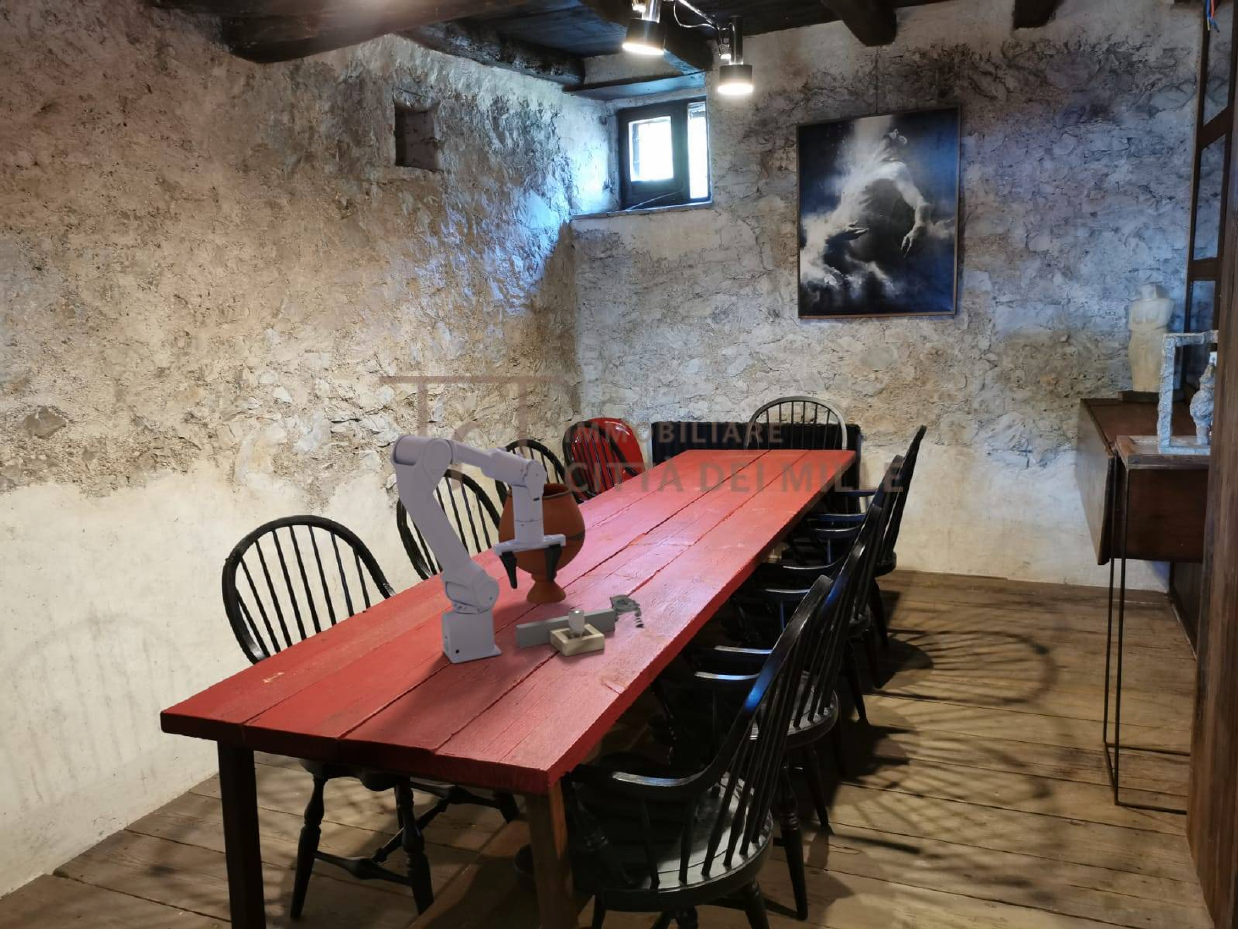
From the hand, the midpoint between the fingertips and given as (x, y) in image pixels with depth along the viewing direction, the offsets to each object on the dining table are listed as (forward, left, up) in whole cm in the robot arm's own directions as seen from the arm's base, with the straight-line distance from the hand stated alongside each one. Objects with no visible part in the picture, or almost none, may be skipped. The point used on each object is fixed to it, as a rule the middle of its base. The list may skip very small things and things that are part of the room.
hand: (532, 584), depth 184 cm
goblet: (+9, +18, -10) cm, 22 cm away
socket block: (+4, -13, -9) cm, 17 cm away
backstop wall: (+4, -8, -9) cm, 13 cm away
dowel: (+4, -13, -9) cm, 17 cm away
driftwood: (+20, +1, -10) cm, 23 cm away
